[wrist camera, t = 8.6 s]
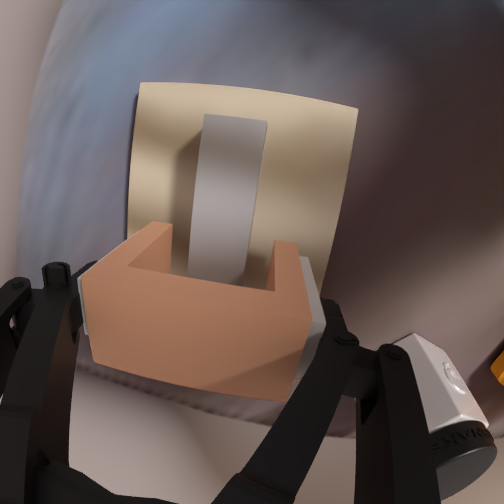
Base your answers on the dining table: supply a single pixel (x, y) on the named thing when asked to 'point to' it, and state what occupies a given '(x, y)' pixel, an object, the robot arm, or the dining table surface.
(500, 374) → the bracket
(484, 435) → the jar
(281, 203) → the rail board
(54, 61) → the dining table surface
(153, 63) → the dining table surface
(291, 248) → the clip
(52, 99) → the dining table surface
